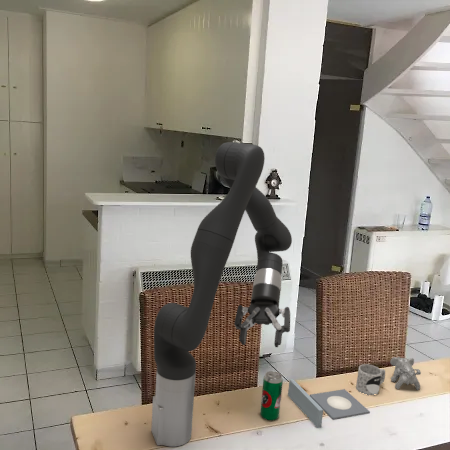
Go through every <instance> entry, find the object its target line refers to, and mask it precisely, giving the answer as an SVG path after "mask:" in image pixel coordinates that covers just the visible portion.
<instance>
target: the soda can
mask: <svg viewBox="0 0 450 450" xmlns="http://www.w3.org/2000/svg"><path fill="white" fill-rule="evenodd" d="M262 379H263V380H262V390H261V399H260V401H261V402H260V411H259V414H260V416H261V417H262V419H264V420H266V421H267V422H268V421H269V422H272V421H273V420H274V421H276V420H277V419H279V417H280V409H281V402H282V391H283V382H284V379H283V376H282V374H281V373H280V372H278V371H275V370H274V371H271V370H270V371H267V372H265V375H264V376H263V378H262Z"/></svg>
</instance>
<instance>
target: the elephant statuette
mask: <svg viewBox="0 0 450 450" xmlns="http://www.w3.org/2000/svg"><path fill="white" fill-rule="evenodd" d="M389 363H390V365H391V366H393V367H394V366H395V367H394V370H393V374H392V376H391V377H390V380H391V382H393V383H395V385H394V387H395V389H396V388H397V389H396V390H400V388H401V387H402V385H403V384H406V385H407V386H408V385H414V388H415V389H414V390H416V391H419V390H420V389H421V384H420V382H419V380H418V377H417V376H419V375H421V374H422V372H421V370H420V369H419V368H413V366H414V364H415V359H414V358H413V357H412V358H406V357H400V356H397V357H395V356H394V357H392V358H391V359H390V362H389ZM396 381H397V382H396Z"/></svg>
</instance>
